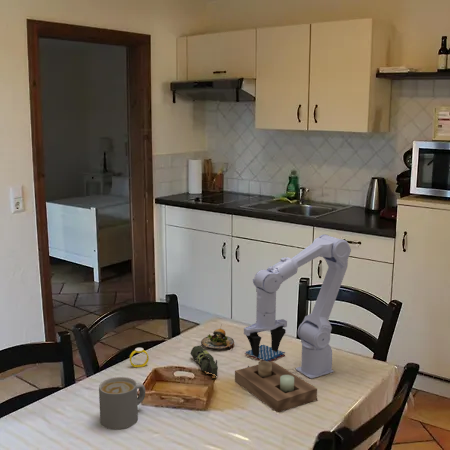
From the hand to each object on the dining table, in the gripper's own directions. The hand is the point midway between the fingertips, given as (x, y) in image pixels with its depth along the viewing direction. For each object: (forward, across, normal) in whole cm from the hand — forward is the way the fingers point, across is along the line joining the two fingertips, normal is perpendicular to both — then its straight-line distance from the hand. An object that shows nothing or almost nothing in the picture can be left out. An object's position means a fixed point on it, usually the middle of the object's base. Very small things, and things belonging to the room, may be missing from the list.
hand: (265, 353), depth 173 cm
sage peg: (+7, 0, +11) cm, 13 cm away
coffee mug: (+10, +44, -3) cm, 45 cm away
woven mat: (+11, -12, -17) cm, 23 cm away
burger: (+10, -3, -33) cm, 35 cm away
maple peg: (+7, 0, 0) cm, 7 cm away
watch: (+10, +28, -31) cm, 43 cm away
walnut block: (+10, 0, +5) cm, 11 cm away
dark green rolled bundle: (+10, +10, -19) cm, 24 cm away
